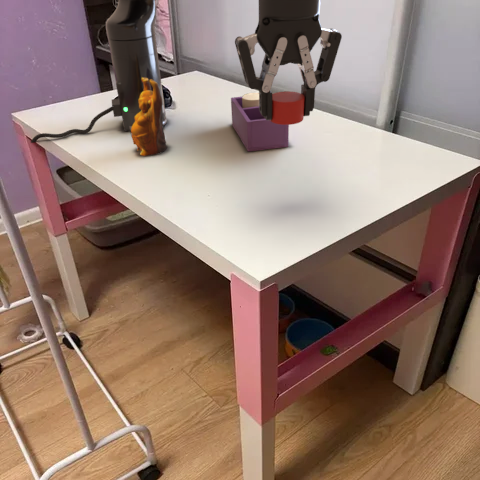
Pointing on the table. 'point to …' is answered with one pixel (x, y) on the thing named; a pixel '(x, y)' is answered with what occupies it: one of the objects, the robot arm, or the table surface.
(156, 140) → the figurine
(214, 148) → the table surface
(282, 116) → the cylinder
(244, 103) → the cream token high
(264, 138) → the purple divided box
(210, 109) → the table surface
